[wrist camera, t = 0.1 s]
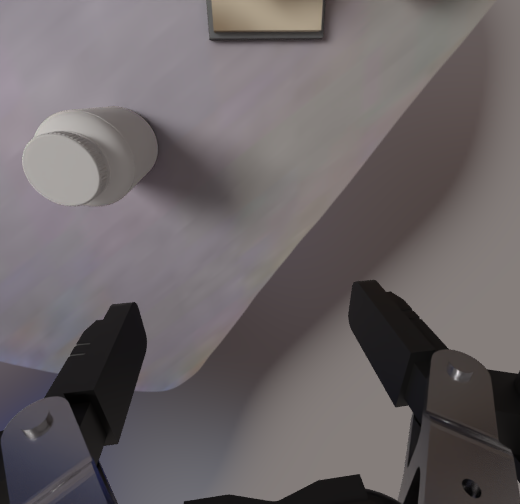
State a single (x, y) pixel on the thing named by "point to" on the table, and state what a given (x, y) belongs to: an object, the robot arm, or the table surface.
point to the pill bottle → (90, 155)
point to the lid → (267, 15)
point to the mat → (260, 35)
